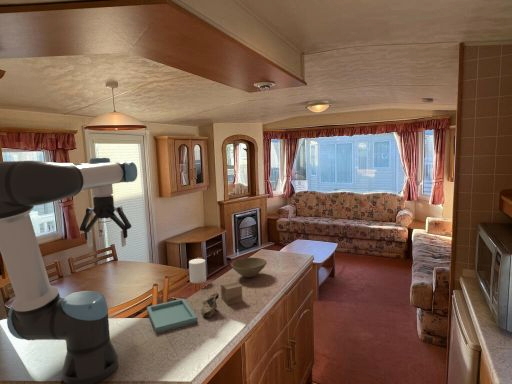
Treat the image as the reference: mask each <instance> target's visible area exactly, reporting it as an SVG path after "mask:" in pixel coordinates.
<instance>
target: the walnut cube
mask: <svg viewBox="0 0 512 384" xmlns="http://www.w3.org/2000/svg"><path fill="white" fill-rule="evenodd" d="M242 287H243V286H242V285H241V283H239V282H238V281H236V280H232V281H227V282H224V283H223V282H222V283H220V294H221V295H220V296H221V300H222V301H223V302H224V303H225V304H226V305H227V306H228V305H232V304H237V303H240V302H243V288H242Z"/></svg>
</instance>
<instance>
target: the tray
mask: <svg viewBox="0 0 512 384" xmlns="http://www.w3.org/2000/svg"><path fill="white" fill-rule="evenodd" d="M146 311H147V312H146V313H147V315H148V318H149V320H150V322H151V325H152V327H153V330H154V332H155V334H156V333H157V334H160V333H164V332H168V331H171V330H170V329H172V330H174V328H175V329H179V328H182V326H183V327H186V325H187V326H189V325H193V324H198V317H197V315H196V313H195V312H194V311H193V309H192V308H191V307H190V305H189V304H188V302H187V301H186V300H185V298H180V299H176V300H169V301H166V302H163V303H158V304H154V305H149V306H146ZM178 327H179V328H178ZM167 330H168V331H167Z"/></svg>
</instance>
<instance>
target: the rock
mask: <svg viewBox="0 0 512 384" xmlns="http://www.w3.org/2000/svg"><path fill="white" fill-rule="evenodd" d="M219 295H220V294H219V293H218V292H216V293H214V294H210V296H207V297H204V298H203V300H202V307H201V315H202V316H204V318H205V317H206V318H212V316H213V315H214V314H215V313H216V310H217V308H218V305H217V300H218V299H219Z"/></svg>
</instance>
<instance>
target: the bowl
mask: <svg viewBox="0 0 512 384" xmlns="http://www.w3.org/2000/svg"><path fill="white" fill-rule="evenodd" d="M267 262H268V261H267V260H266V259H264V258H262V257H242V258H241V257H240V258H238V259H234V260H233V261H232V262H231V264H230V265H231V267H232V269H233V270H234V271H235V272H236V273H237V274H239V275H240V276H242V277H244V278H253V277H255V276H257V275H258V274H259V273H261V271H262V270H264V268H265V267H266V266H267Z"/></svg>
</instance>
